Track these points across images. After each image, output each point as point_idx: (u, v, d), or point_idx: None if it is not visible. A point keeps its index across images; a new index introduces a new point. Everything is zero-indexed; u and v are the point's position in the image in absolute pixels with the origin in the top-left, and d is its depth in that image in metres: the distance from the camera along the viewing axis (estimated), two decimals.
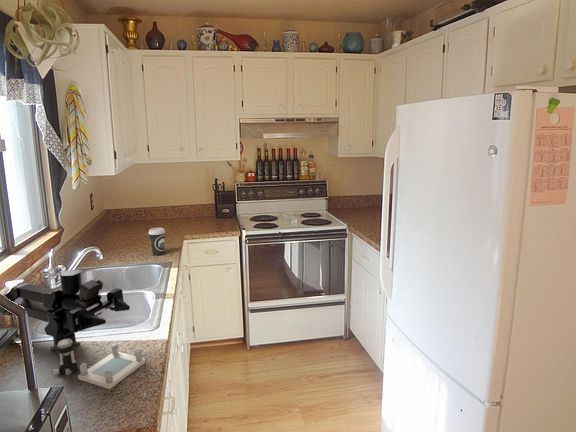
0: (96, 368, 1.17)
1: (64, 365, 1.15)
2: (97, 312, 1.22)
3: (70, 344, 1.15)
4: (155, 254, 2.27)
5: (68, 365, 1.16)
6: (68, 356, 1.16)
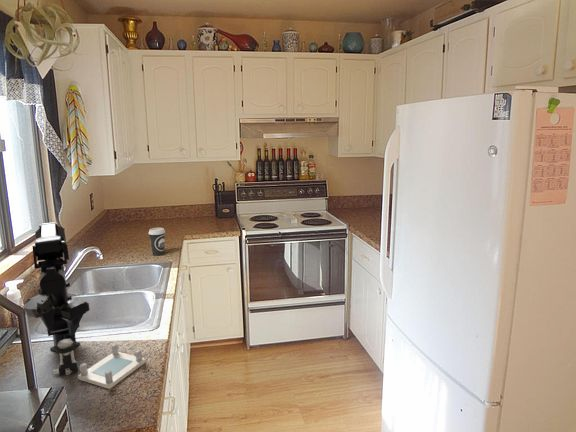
0: (96, 368, 1.17)
1: (64, 365, 1.15)
2: None
3: (70, 344, 1.15)
4: (155, 254, 2.27)
5: (68, 365, 1.16)
6: (68, 356, 1.16)
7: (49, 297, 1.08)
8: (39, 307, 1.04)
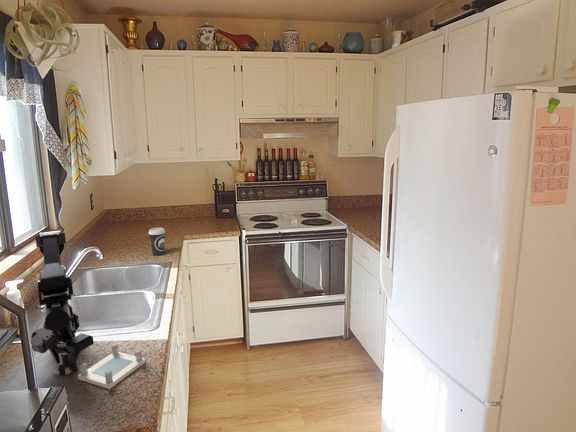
0: (96, 368, 1.17)
1: (64, 365, 1.15)
2: None
3: None
4: (155, 254, 2.27)
5: (68, 364, 1.16)
6: None
7: (54, 332, 1.10)
8: (44, 343, 1.06)
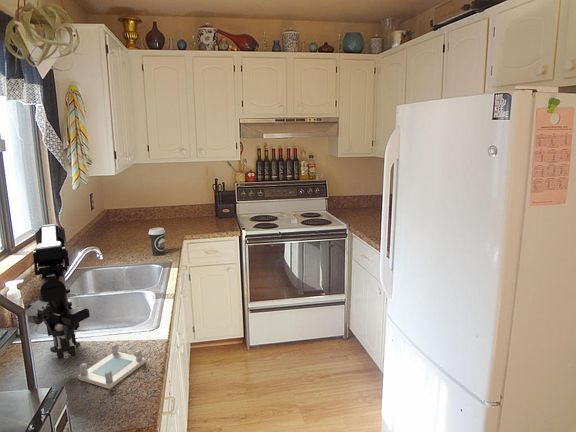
0: (96, 368, 1.17)
1: (62, 348, 1.15)
2: None
3: None
4: (155, 254, 2.27)
5: (66, 348, 1.15)
6: None
7: (49, 303, 1.08)
8: (39, 314, 1.05)
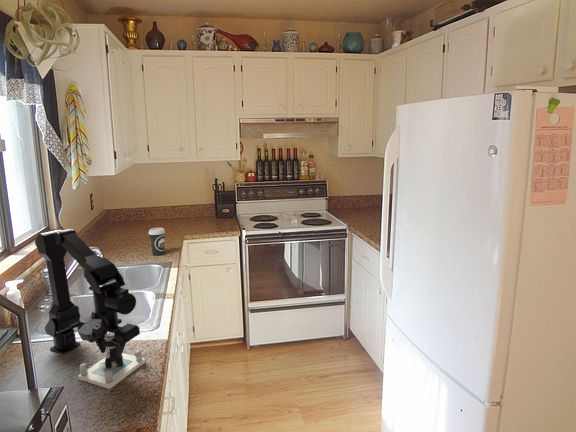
0: (96, 368, 1.17)
1: (110, 358, 1.16)
2: None
3: None
4: (155, 254, 2.27)
5: (114, 358, 1.17)
6: (114, 349, 1.17)
7: (102, 321, 1.11)
8: (94, 332, 1.07)
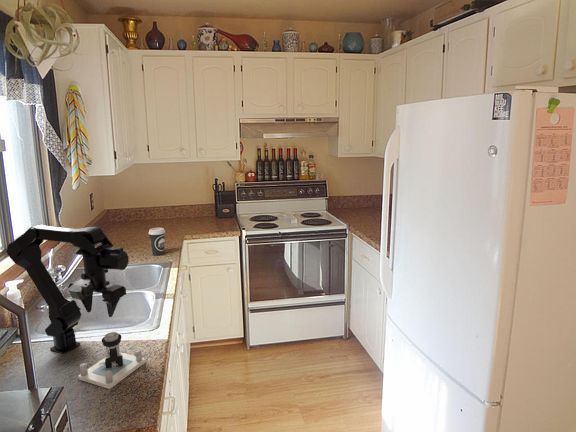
0: (96, 368, 1.17)
1: (110, 358, 1.16)
2: None
3: (116, 337, 1.16)
4: (155, 254, 2.27)
5: (114, 358, 1.17)
6: (114, 349, 1.17)
7: (91, 281, 1.19)
8: (83, 290, 1.16)
